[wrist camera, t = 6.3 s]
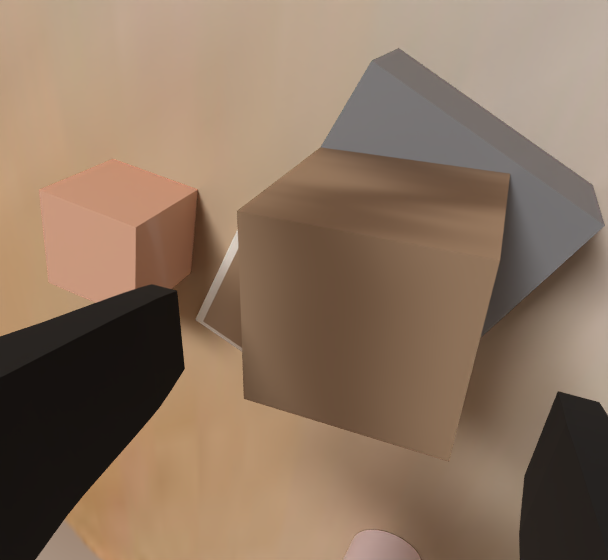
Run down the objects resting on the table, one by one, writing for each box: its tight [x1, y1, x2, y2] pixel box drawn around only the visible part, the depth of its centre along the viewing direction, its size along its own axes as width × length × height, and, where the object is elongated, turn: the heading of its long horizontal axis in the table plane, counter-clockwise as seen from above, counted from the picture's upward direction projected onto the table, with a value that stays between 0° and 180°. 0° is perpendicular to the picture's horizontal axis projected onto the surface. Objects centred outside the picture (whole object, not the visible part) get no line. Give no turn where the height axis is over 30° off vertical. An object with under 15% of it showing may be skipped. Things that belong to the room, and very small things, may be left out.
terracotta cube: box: [39, 159, 198, 303], centre depth 20 cm, size 4×4×4 cm
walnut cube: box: [237, 147, 510, 461], centre depth 13 cm, size 5×5×5 cm
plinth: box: [321, 48, 605, 338], centre depth 16 cm, size 7×7×4 cm
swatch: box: [195, 230, 242, 351], centre depth 21 cm, size 7×7×1 cm
